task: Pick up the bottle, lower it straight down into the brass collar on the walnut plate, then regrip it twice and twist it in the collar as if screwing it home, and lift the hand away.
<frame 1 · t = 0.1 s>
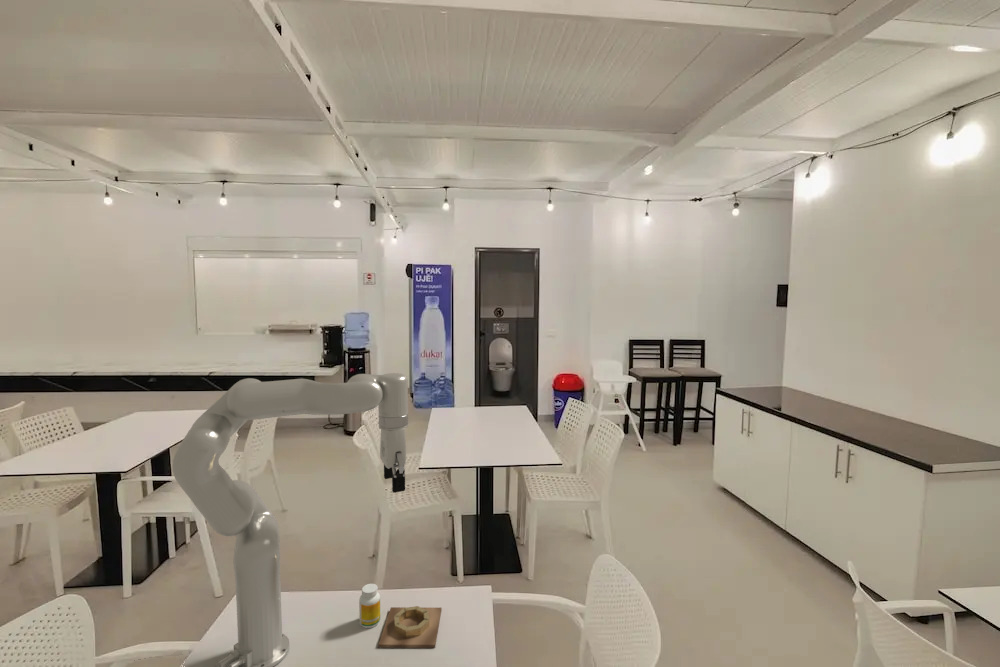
hand: (394, 484, 127), 37 cm above the table, tool pointing down, fingers open, 9 cm apart
supplement bottle: (370, 622, 128), on the table
collar: (411, 621, 126), on the base plate, point 1 cm above the table
base plate: (411, 627, 126), on the table
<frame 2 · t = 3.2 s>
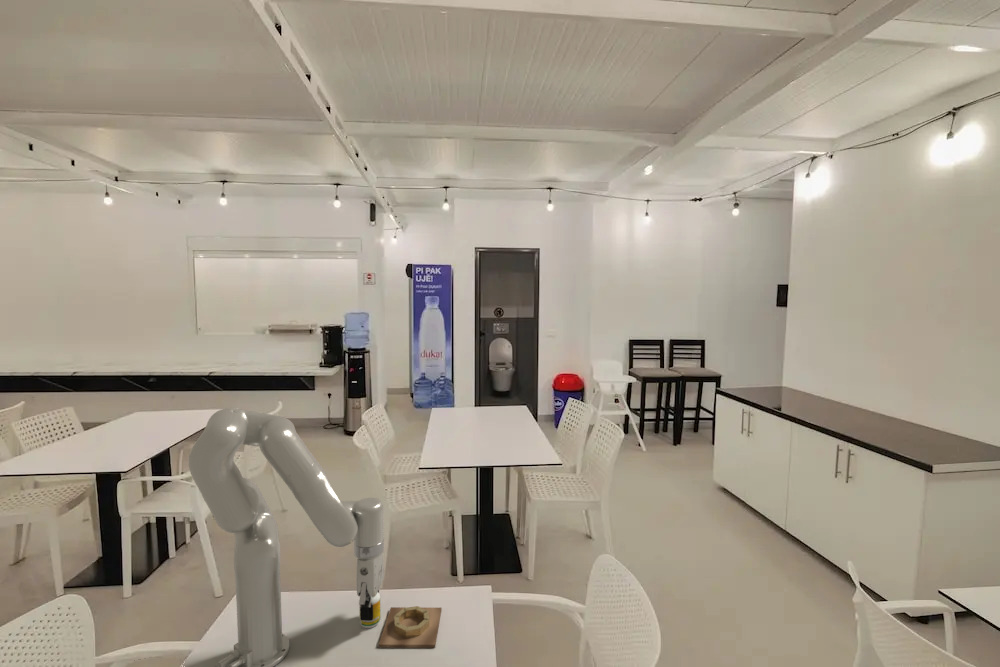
hand: (370, 611, 128), 3 cm above the table, tool pointing down, fingers closed on supplement bottle, 5 cm apart
supplement bottle: (370, 622, 128), on the table, touching gripper
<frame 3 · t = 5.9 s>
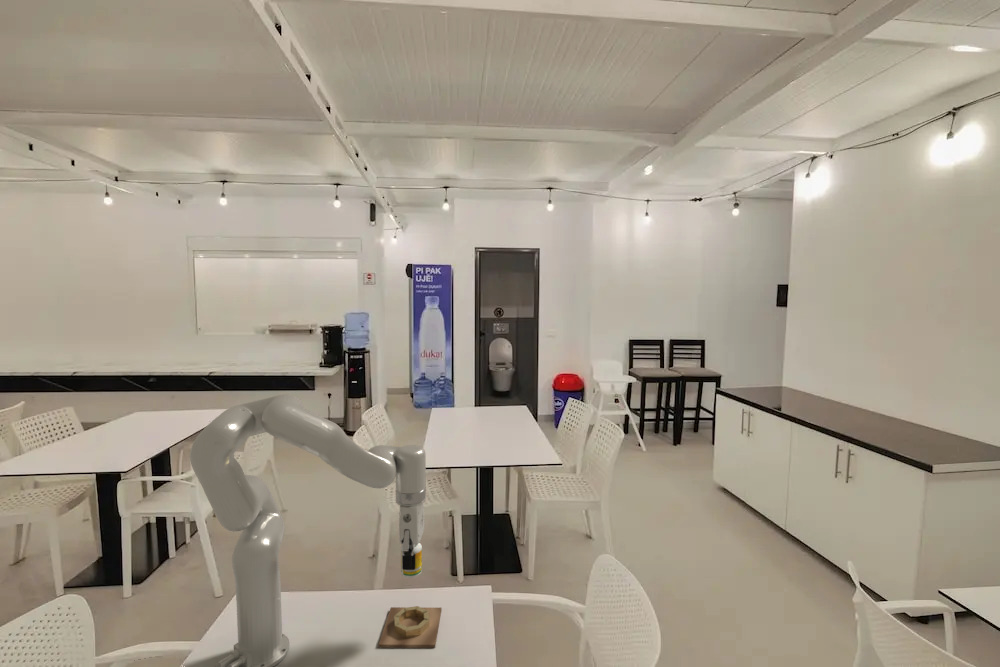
hand: (411, 561, 124), 18 cm above the table, tool pointing down, fingers closed on supplement bottle, 5 cm apart
supplement bottle: (411, 573, 125), point 15 cm above the table, touching gripper
when the fingers open (5 cm above the table, at t = 8.5 s): supplement bottle drops 1 cm, resting on base plate.
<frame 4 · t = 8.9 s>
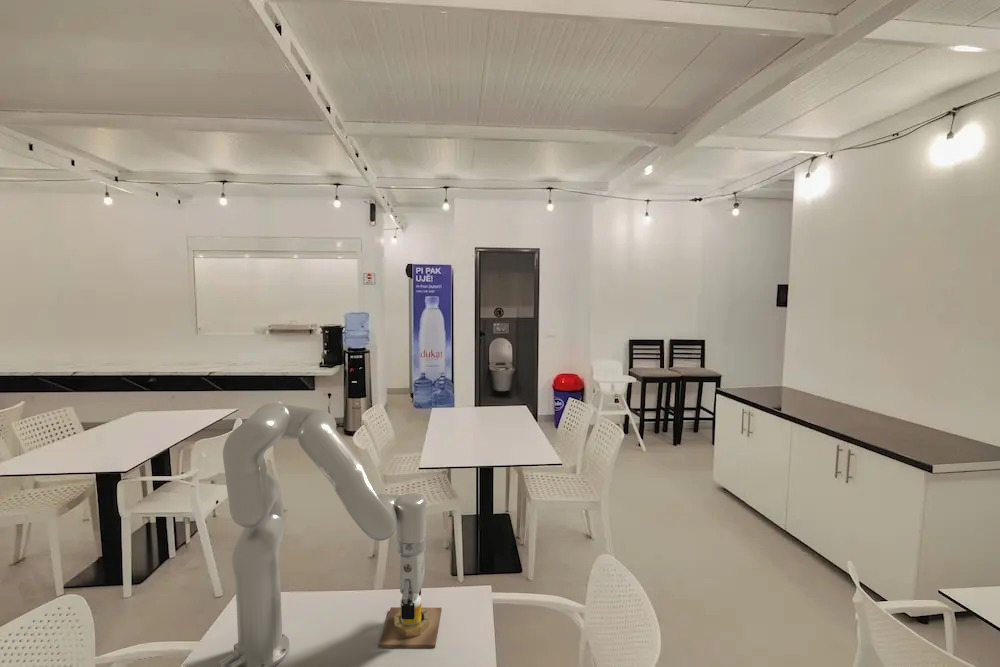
hand: (411, 606, 125), 6 cm above the table, tool pointing down, fingers open, 9 cm apart
supplement bottle: (411, 626, 126), point 1 cm above the table, touching base plate
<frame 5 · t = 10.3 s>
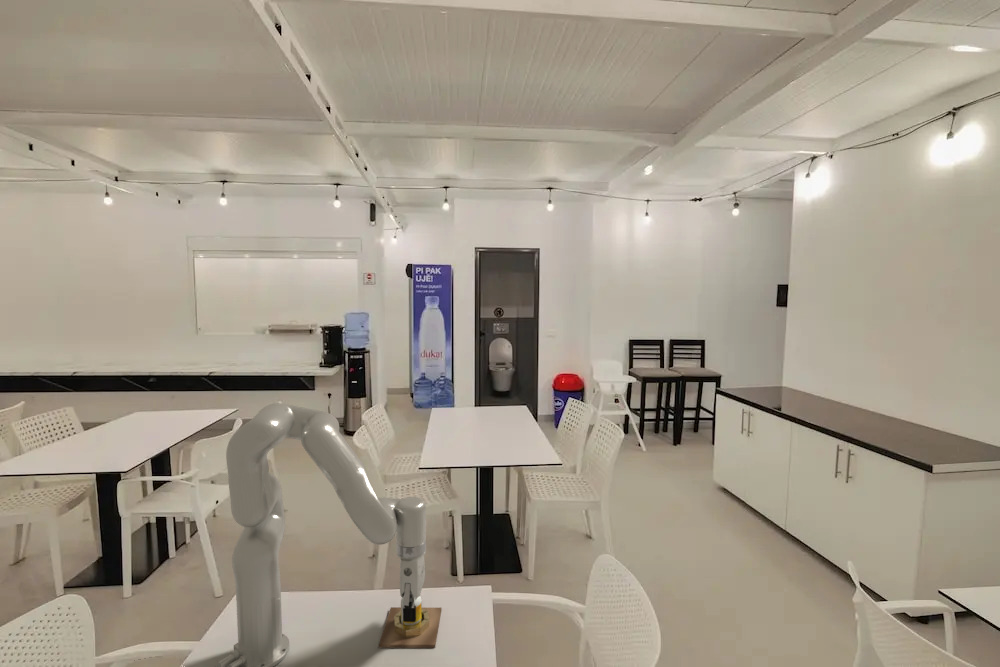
hand: (411, 612, 126), 4 cm above the table, tool pointing down, fingers closed on supplement bottle, 5 cm apart
supplement bottle: (411, 625, 126), point 1 cm above the table, touching base plate, gripper
when the fingers open (4 cm above the table, at t = 11.3 s): supplement bottle stays where it is, resting on base plate.
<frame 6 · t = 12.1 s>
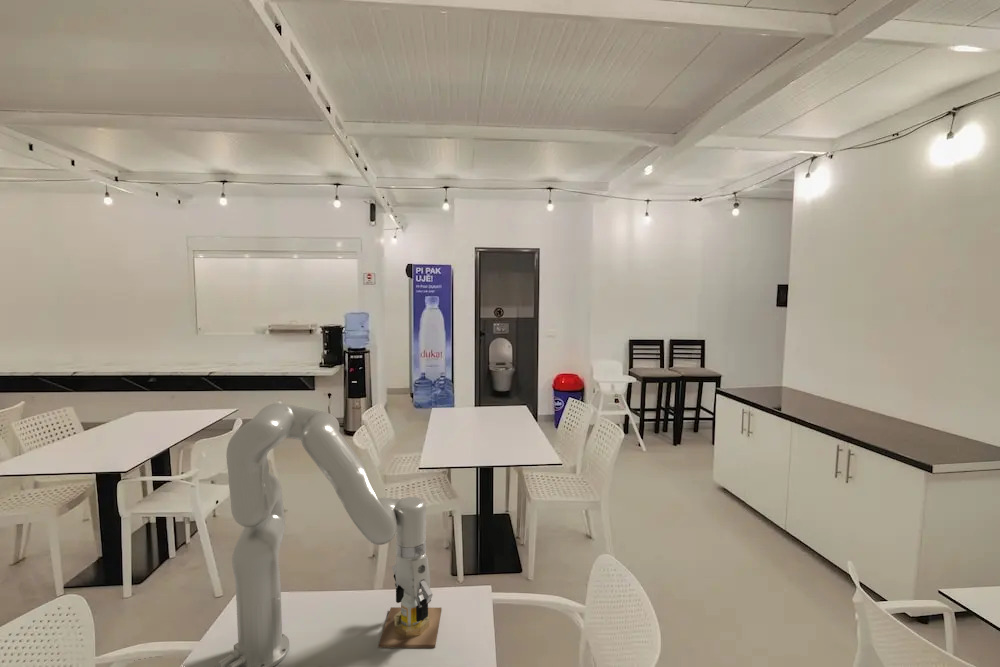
hand: (411, 609, 126), 5 cm above the table, tool pointing down, fingers open, 9 cm apart
supplement bottle: (411, 625, 126), point 1 cm above the table, touching base plate
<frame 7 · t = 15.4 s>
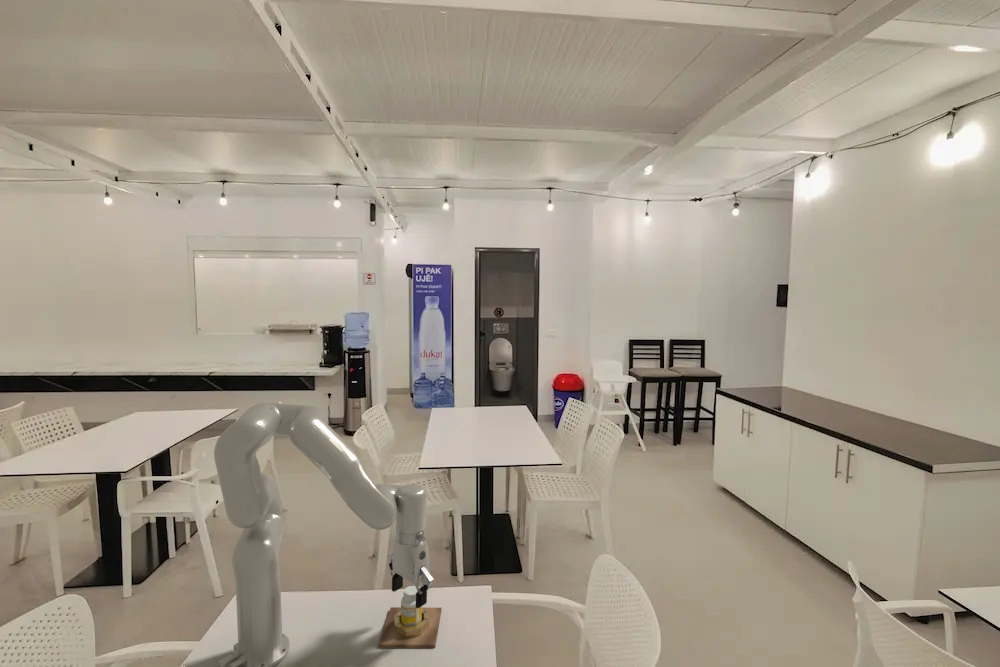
hand: (408, 597, 125), 9 cm above the table, tool pointing down, fingers open, 9 cm apart
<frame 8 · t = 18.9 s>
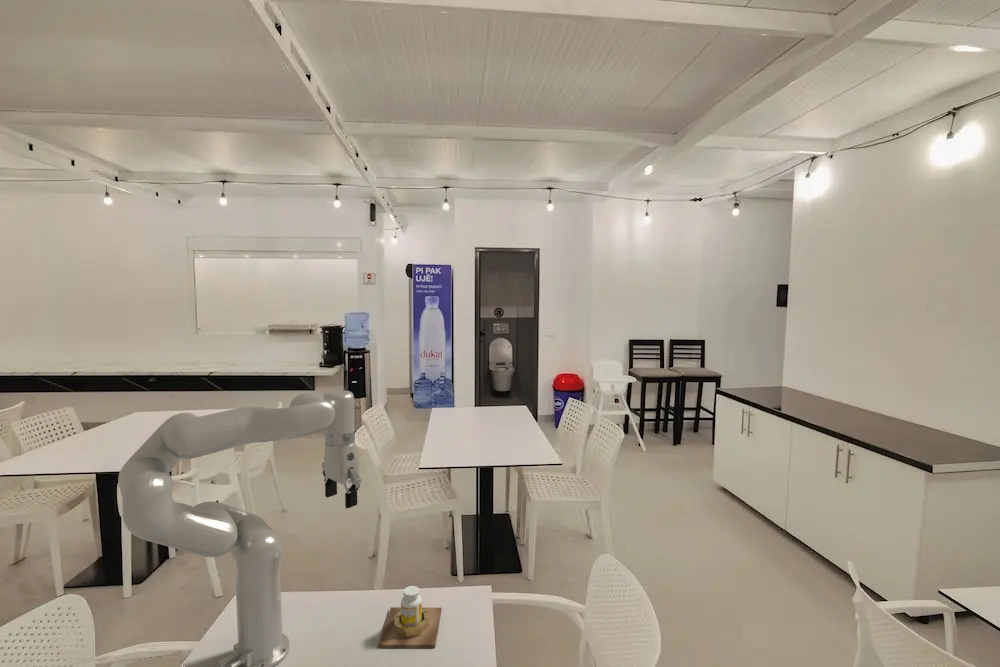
hand: (341, 501, 128), 32 cm above the table, tool pointing down, fingers open, 9 cm apart
at the end: supplement bottle 0.1 cm off-centre on the collar, point 0.6 cm above the collar's base; supplement bottle tilted 0°; the gripper is holding nothing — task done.
